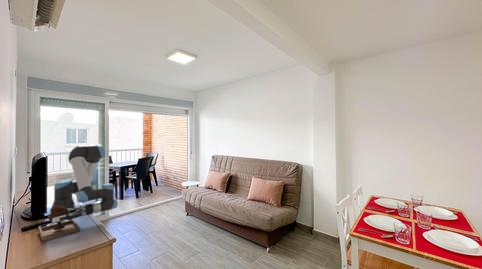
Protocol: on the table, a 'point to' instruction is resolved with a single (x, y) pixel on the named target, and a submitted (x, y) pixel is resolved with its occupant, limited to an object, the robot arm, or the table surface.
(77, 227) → the light brown wooden tray
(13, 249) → the table surface
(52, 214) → the ice cream bowl
